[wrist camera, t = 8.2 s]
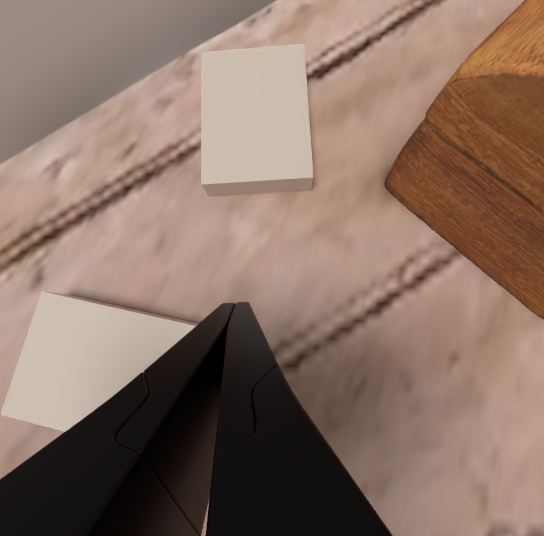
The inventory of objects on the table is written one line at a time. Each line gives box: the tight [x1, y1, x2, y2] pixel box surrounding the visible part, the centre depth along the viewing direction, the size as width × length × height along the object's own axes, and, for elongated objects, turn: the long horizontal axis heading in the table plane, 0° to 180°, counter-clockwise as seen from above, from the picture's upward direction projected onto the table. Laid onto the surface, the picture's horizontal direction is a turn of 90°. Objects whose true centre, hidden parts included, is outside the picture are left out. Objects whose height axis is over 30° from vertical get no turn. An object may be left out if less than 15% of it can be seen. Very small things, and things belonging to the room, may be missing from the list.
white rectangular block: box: [201, 44, 313, 196], centre depth 23 cm, size 3×8×11 cm
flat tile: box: [0, 291, 199, 432], centre depth 20 cm, size 11×8×3 cm
